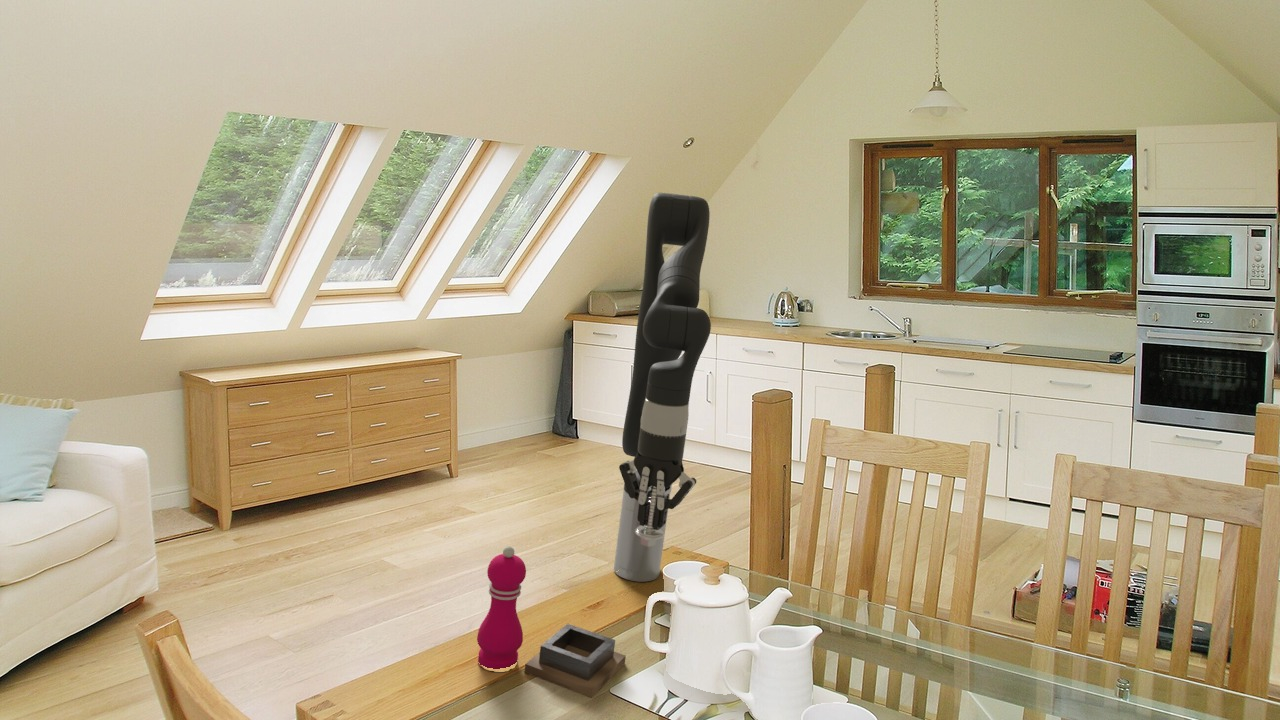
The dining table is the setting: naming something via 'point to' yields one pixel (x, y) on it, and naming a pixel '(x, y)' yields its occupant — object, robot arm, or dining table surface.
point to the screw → (650, 523)
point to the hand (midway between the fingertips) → (650, 526)
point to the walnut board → (572, 681)
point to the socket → (572, 662)
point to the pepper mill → (502, 612)
